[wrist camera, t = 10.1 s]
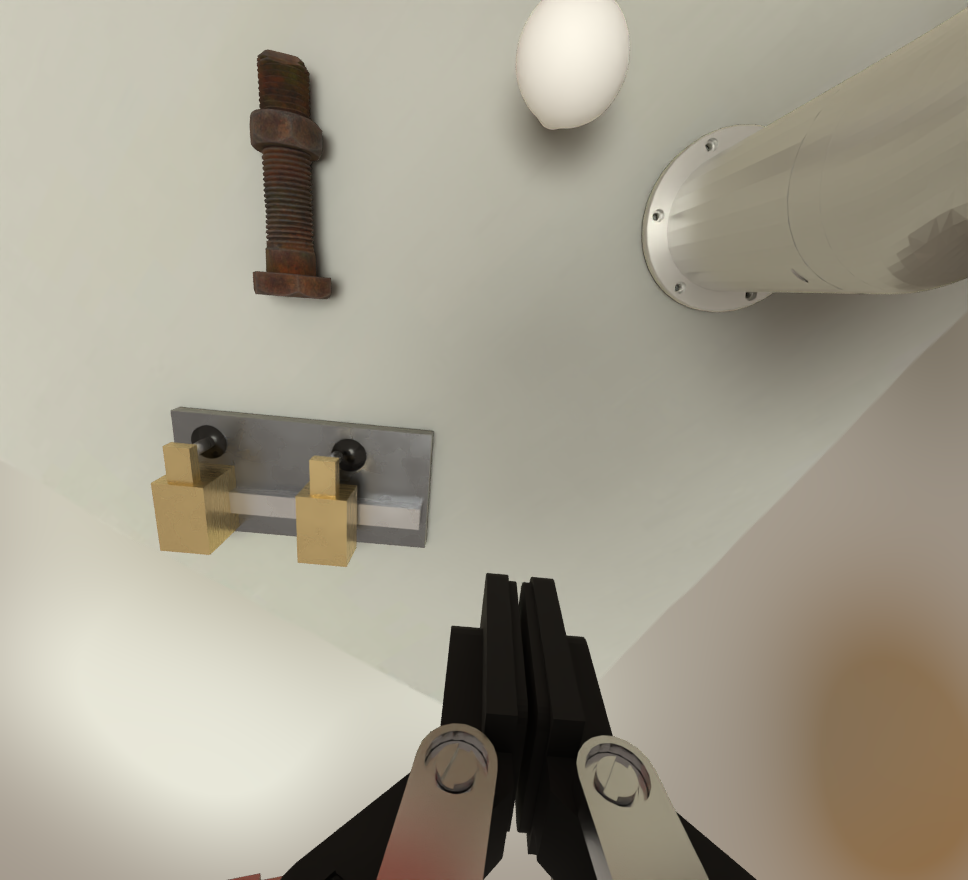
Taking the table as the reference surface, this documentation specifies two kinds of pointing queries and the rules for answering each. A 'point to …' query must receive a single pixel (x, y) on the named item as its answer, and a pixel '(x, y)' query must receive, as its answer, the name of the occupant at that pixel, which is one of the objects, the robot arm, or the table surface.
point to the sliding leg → (326, 515)
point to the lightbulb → (572, 60)
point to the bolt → (287, 177)
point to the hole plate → (285, 477)
